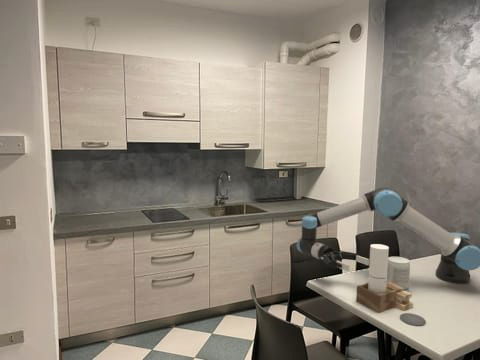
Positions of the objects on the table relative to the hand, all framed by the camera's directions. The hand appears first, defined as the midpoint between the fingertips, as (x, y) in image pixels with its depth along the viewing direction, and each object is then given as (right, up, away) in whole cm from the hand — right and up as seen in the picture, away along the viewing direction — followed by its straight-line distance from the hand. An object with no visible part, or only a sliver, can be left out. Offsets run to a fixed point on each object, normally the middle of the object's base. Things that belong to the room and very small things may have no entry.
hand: (358, 265), depth 157 cm
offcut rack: (+8, -15, -7) cm, 19 cm away
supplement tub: (+20, -14, +8) cm, 26 cm away
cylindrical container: (+5, -15, -6) cm, 17 cm away
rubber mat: (+14, -16, -20) cm, 29 cm away
